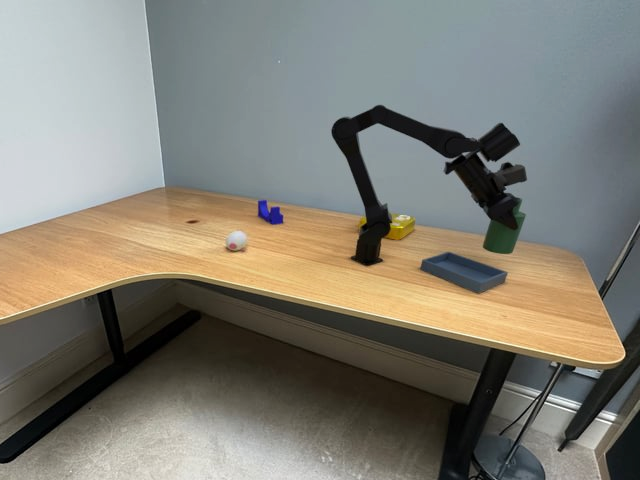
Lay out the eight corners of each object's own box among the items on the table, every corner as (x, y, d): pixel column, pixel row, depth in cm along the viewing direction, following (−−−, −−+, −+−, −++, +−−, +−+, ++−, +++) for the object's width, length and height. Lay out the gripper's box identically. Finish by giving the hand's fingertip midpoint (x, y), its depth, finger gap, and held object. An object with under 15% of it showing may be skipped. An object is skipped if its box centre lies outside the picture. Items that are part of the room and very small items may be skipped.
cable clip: (283, 223, 137) (283, 206, 134) (272, 224, 135) (272, 208, 132) (268, 214, 146) (268, 199, 144) (258, 216, 145) (258, 200, 142)
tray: (478, 293, 88) (481, 283, 87) (419, 269, 100) (422, 259, 99) (504, 282, 93) (508, 272, 92) (446, 260, 105) (448, 251, 104)
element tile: (374, 221, 138) (376, 208, 136) (415, 229, 130) (417, 216, 128) (356, 231, 128) (357, 218, 126) (399, 241, 119) (401, 226, 117)
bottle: (502, 255, 91) (520, 203, 85) (476, 247, 96) (492, 196, 90) (518, 251, 94) (537, 200, 88) (492, 242, 99) (508, 193, 93)
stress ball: (238, 254, 118) (228, 235, 118) (256, 245, 113) (246, 225, 113) (224, 261, 113) (213, 242, 112) (242, 251, 107) (231, 231, 107)
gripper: (522, 157, 77) (563, 214, 79) (499, 147, 93) (533, 194, 95) (470, 193, 83) (510, 245, 85) (456, 177, 98) (490, 221, 101)
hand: (512, 224), depth 91 cm, fingers closed on bottle, 7 cm apart
